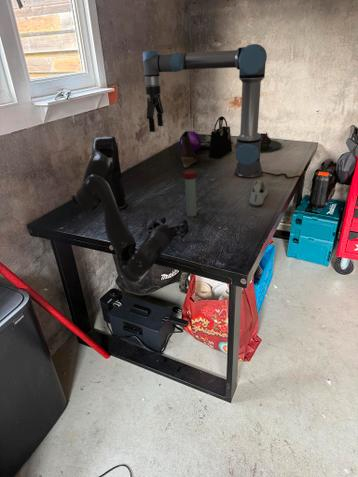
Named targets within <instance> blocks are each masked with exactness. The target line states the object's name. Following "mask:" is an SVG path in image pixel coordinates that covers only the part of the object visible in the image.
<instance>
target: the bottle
mask: <svg viewBox="0 0 358 477" xmlns="http://www.w3.org/2000/svg"><path fill="white" fill-rule="evenodd" d="M184 186H185V187H184V188H185V190H184V191H185V208H186V209H185V212H186V216H187V217H190V218H193V217H196V216H197V215H198V213H197V212H198V211H197V177H196V178H195V179H185V178H184Z"/></svg>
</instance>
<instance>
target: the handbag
mask: <svg viewBox="0 0 358 477" xmlns="http://www.w3.org/2000/svg"><path fill="white" fill-rule="evenodd" d="M223 123H225V126H223ZM217 125H218V128H217ZM216 128H217V129H216ZM210 136H211V140H210V144H209V145H210V147H209V151H208V157H209V158H212V159H213V158H214V159H222V158H223V157H225V156H227V155H228V154H230V153H231V152H233V147H232V146H233V144H231V141H232V133H231V126H228V122H227V119H226V118H225V116H221V115H220V116H219V117H218V118H217V120H216V121H215V124H214V128H213V129H212V131H211V132H210Z"/></svg>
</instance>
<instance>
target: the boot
mask: <svg viewBox="0 0 358 477" xmlns="http://www.w3.org/2000/svg"><path fill="white" fill-rule="evenodd" d="M188 131H189V130H186V131H184V132H183V133H182V134H181V136H182V138H181V140H182V149H181V151H180V158H181V162H182V165H183V167H184V168H186V169H187V168H189V167H191V165H193V164H195V163H196V162H197V161H198V156H197V153H196V152H193V149H192V145H191V142H190V137H189V132H188Z"/></svg>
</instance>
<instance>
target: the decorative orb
mask: <svg viewBox="0 0 358 477" xmlns="http://www.w3.org/2000/svg"><path fill="white" fill-rule="evenodd" d="M187 131H188V132H189V137H190V142H191V145H192V149H193V152H195V153H196V152H197V151H198V150H200V149H199V148H200V145H201V141H202V140H201V137H200V135H199V134H198V133H197V132H195V131H192V130H187ZM181 138H182V135H181V136H180V138H179V140H178V141H179V142H178V143H179V148H180V149H181V150H182V140H181Z"/></svg>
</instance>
